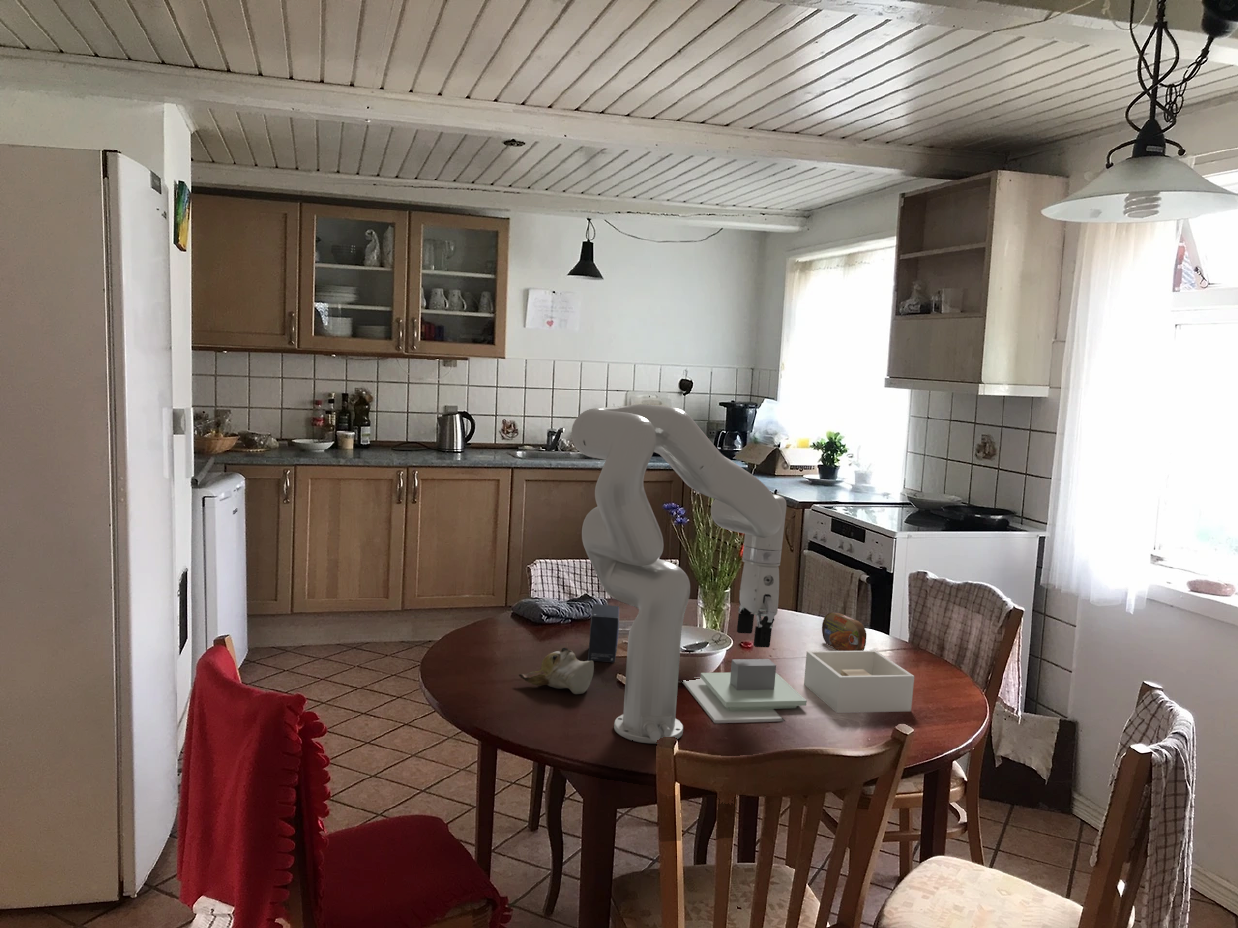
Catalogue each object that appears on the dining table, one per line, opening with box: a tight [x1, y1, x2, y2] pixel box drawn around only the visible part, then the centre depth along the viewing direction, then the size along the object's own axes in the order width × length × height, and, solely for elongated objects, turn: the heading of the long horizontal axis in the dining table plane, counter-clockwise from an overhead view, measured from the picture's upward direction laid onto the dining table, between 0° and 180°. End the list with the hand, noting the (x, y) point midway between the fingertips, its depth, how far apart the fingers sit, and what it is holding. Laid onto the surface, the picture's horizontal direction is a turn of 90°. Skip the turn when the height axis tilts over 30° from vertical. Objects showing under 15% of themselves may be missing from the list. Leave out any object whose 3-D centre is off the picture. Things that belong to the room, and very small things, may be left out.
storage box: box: [803, 650, 915, 714], centre depth 192 cm, size 16×16×8 cm
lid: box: [699, 658, 808, 710], centre depth 189 cm, size 17×17×7 cm
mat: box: [682, 677, 786, 724], centre depth 189 cm, size 23×23×1 cm
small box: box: [587, 603, 620, 663], centre depth 212 cm, size 11×6×10 cm, turn 179°
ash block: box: [841, 669, 870, 676], centre depth 192 cm, size 5×5×5 cm
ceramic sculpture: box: [518, 647, 595, 695], centre depth 189 cm, size 11×9×15 cm
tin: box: [821, 611, 867, 651], centre depth 227 cm, size 15×3×8 cm, turn 22°
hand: (752, 639), depth 187 cm, fingers open, 9 cm apart
